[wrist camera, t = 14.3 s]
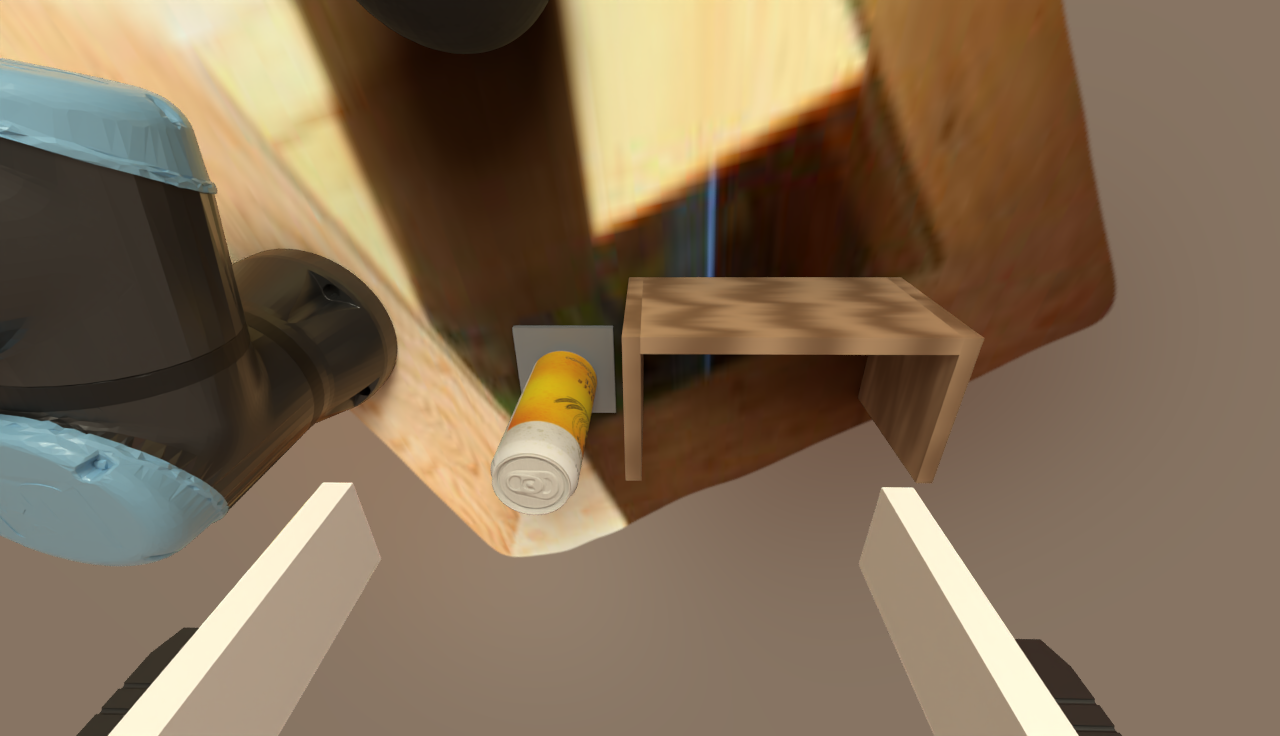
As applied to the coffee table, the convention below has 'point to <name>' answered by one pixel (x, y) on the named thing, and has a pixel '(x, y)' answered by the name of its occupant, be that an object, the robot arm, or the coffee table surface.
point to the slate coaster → (575, 339)
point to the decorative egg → (458, 21)
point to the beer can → (546, 436)
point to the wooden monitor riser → (812, 346)
